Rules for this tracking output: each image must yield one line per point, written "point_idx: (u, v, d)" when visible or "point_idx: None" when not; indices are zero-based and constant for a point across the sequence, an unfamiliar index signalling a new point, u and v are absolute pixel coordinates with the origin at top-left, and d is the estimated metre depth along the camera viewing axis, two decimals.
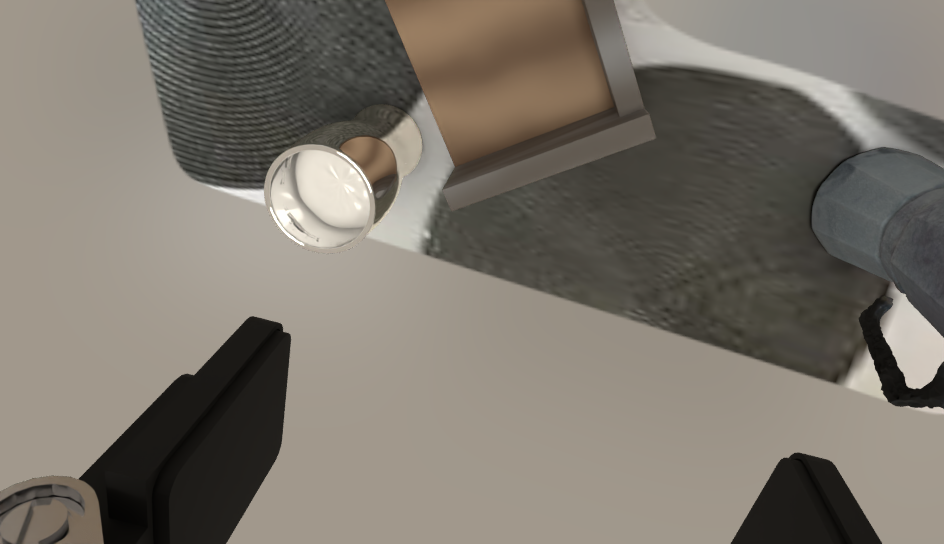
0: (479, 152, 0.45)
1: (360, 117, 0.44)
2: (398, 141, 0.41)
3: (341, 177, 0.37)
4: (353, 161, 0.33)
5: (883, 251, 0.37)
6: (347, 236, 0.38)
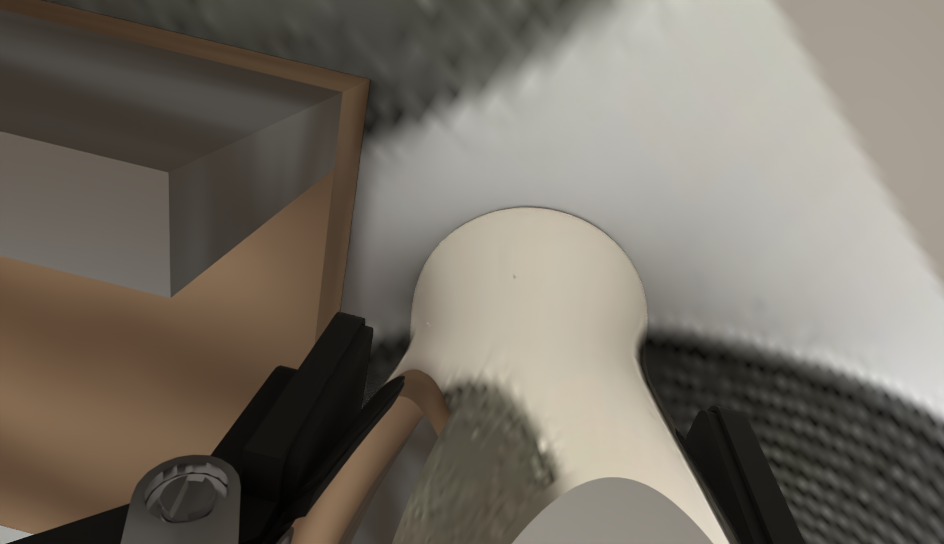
0: None
1: None
2: None
3: None
4: None
5: None
6: None
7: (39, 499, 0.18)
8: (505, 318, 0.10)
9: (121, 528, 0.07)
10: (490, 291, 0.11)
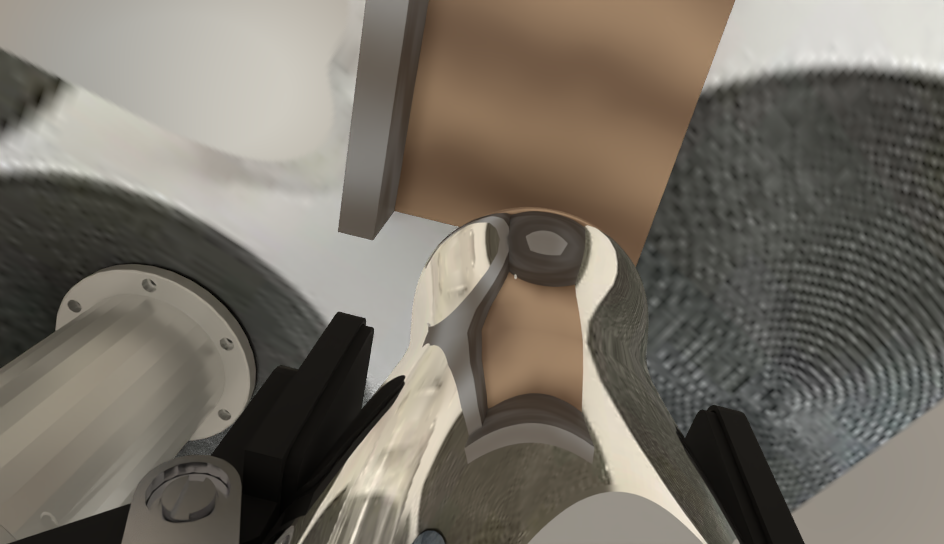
0: None
1: None
2: None
3: None
4: None
5: None
6: None
7: (486, 200, 0.29)
8: (505, 318, 0.10)
9: (122, 528, 0.07)
10: (491, 291, 0.11)
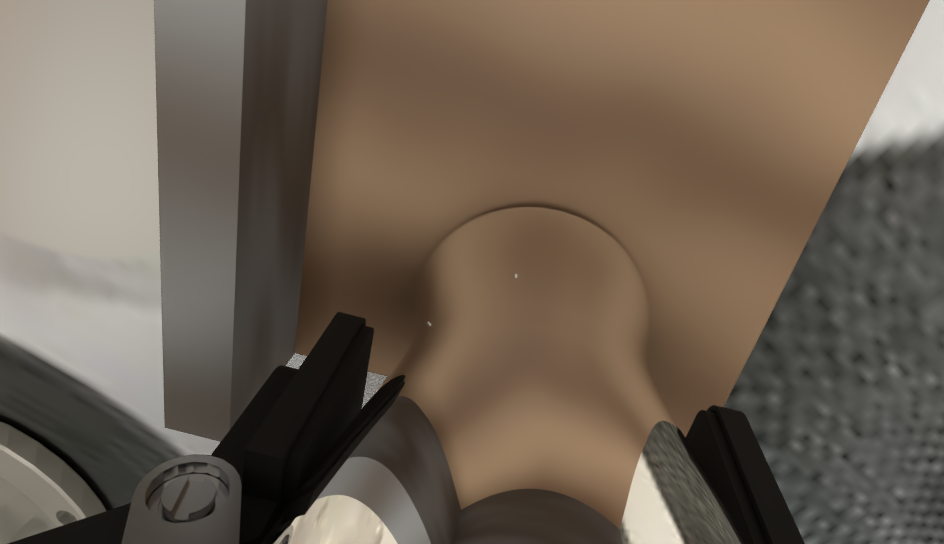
0: None
1: None
2: None
3: None
4: None
5: None
6: None
7: None
8: (506, 317, 0.10)
9: (122, 528, 0.07)
10: (491, 290, 0.11)
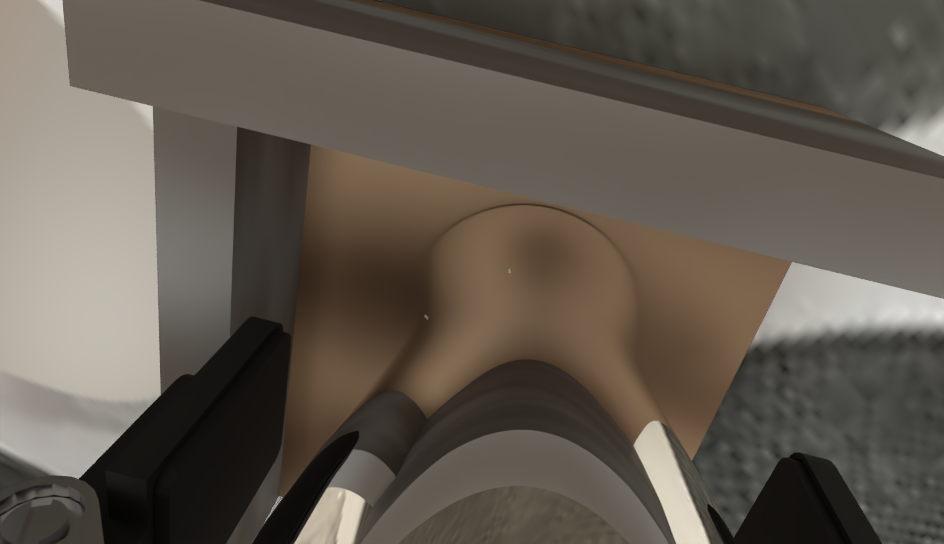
0: None
1: None
2: None
3: None
4: None
5: None
6: None
7: None
8: (499, 309, 0.10)
9: None
10: (486, 285, 0.12)
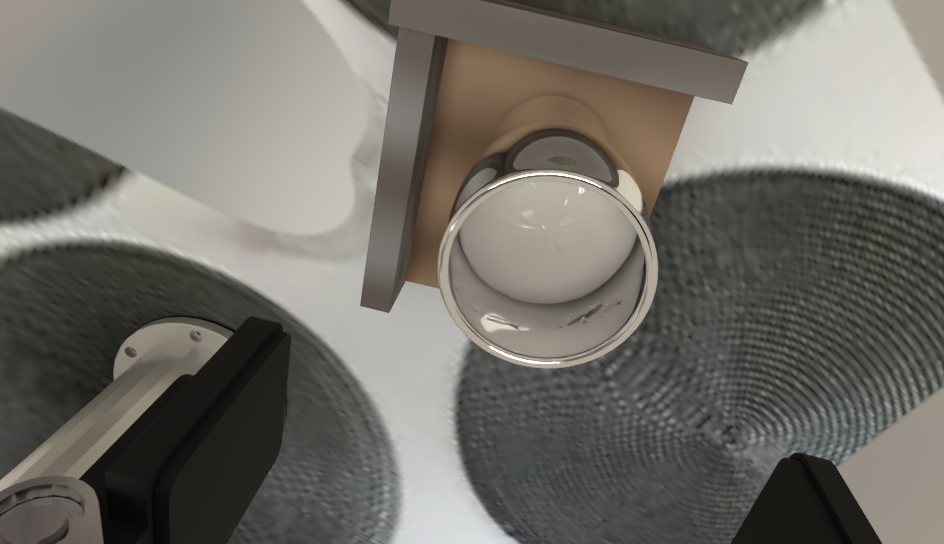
0: None
1: None
2: None
3: (540, 235, 0.21)
4: (441, 292, 0.18)
5: None
6: None
7: None
8: (544, 119, 0.25)
9: None
10: (536, 118, 0.27)
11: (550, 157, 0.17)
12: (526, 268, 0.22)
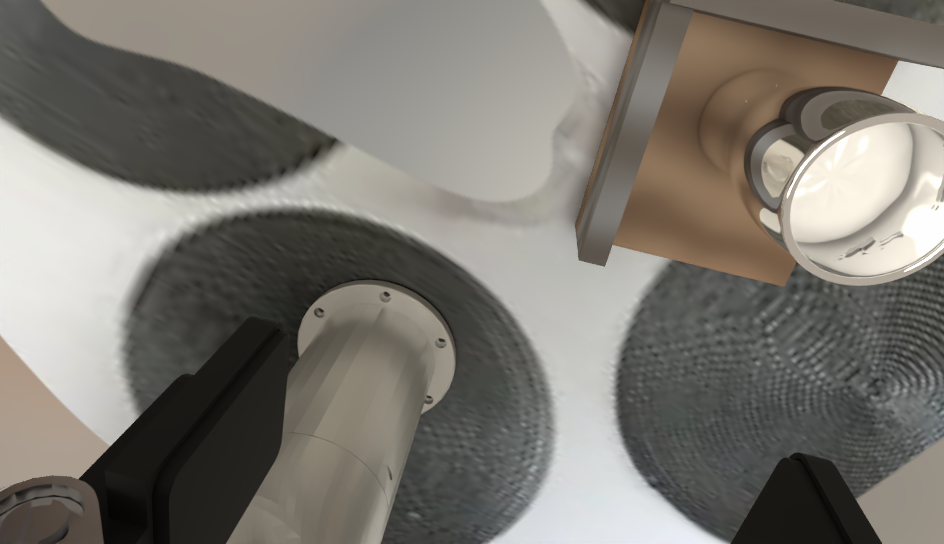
0: (857, 58, 0.33)
1: None
2: (728, 139, 0.30)
3: (825, 180, 0.25)
4: (781, 219, 0.22)
5: None
6: None
7: (674, 234, 0.38)
8: None
9: None
10: (771, 88, 0.30)
11: (887, 105, 0.21)
12: (805, 210, 0.26)
